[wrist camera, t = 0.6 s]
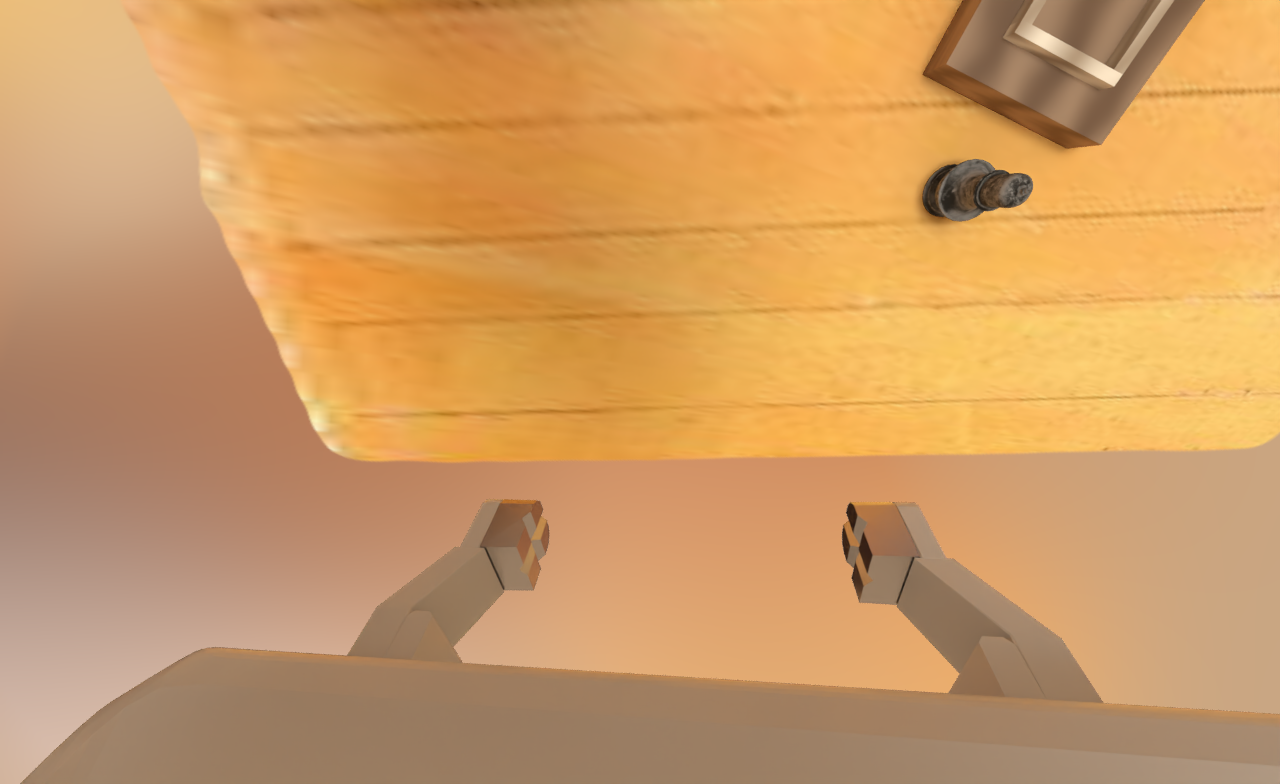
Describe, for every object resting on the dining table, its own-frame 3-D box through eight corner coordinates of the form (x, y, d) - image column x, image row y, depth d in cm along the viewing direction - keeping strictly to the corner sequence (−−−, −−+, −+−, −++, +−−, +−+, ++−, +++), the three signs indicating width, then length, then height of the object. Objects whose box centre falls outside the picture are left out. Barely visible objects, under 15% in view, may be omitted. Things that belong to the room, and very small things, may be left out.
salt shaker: (987, 179, 50) (1082, 175, 39) (948, 229, 52) (1027, 239, 41) (946, 150, 49) (1032, 137, 38) (908, 202, 51) (979, 205, 40)
